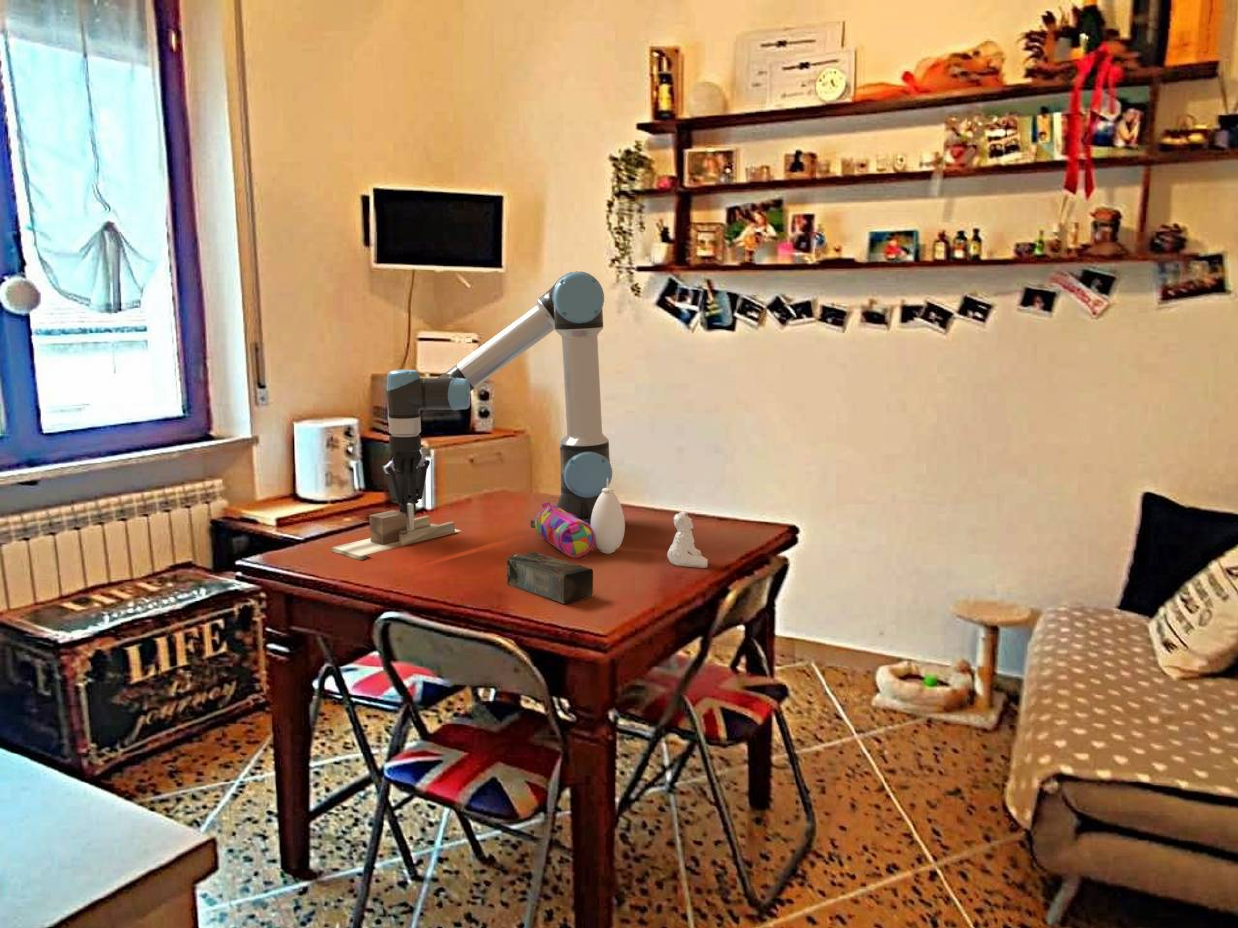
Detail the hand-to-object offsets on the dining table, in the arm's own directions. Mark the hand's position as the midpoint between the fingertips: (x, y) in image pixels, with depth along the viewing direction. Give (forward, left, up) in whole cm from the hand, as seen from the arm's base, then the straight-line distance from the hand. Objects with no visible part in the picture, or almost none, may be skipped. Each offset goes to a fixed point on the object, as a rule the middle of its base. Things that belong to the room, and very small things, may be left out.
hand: (408, 529), depth 232 cm
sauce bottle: (-45, -23, -3) cm, 50 cm away
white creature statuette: (-64, -28, -3) cm, 70 cm away
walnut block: (0, +6, -2) cm, 6 cm away
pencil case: (-33, -20, -3) cm, 39 cm away
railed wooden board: (0, +3, -3) cm, 4 cm away
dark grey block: (-54, +6, -3) cm, 54 cm away
